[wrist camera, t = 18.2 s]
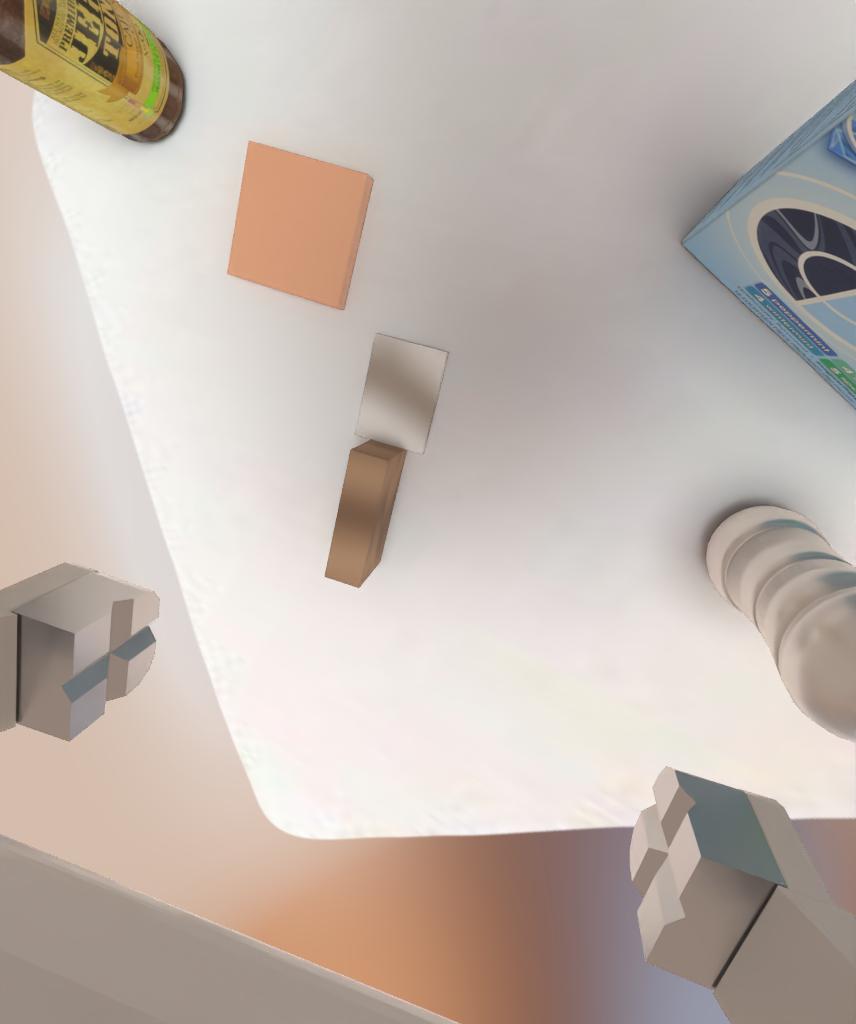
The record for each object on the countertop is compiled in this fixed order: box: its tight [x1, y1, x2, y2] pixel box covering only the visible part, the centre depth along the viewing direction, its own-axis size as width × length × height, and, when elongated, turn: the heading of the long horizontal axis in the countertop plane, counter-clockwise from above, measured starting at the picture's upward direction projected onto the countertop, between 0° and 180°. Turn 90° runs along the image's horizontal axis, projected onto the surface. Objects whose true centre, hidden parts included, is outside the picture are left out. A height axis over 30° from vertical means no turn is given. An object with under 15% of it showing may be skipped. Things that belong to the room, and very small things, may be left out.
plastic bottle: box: [706, 506, 856, 742], centre depth 28 cm, size 6×7×20 cm
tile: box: [227, 141, 374, 310], centre depth 37 cm, size 8×2×8 cm
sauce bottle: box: [0, 0, 183, 142], centre depth 27 cm, size 6×6×20 cm
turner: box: [325, 334, 449, 588], centre depth 38 cm, size 16×5×5 cm, turn 166°
